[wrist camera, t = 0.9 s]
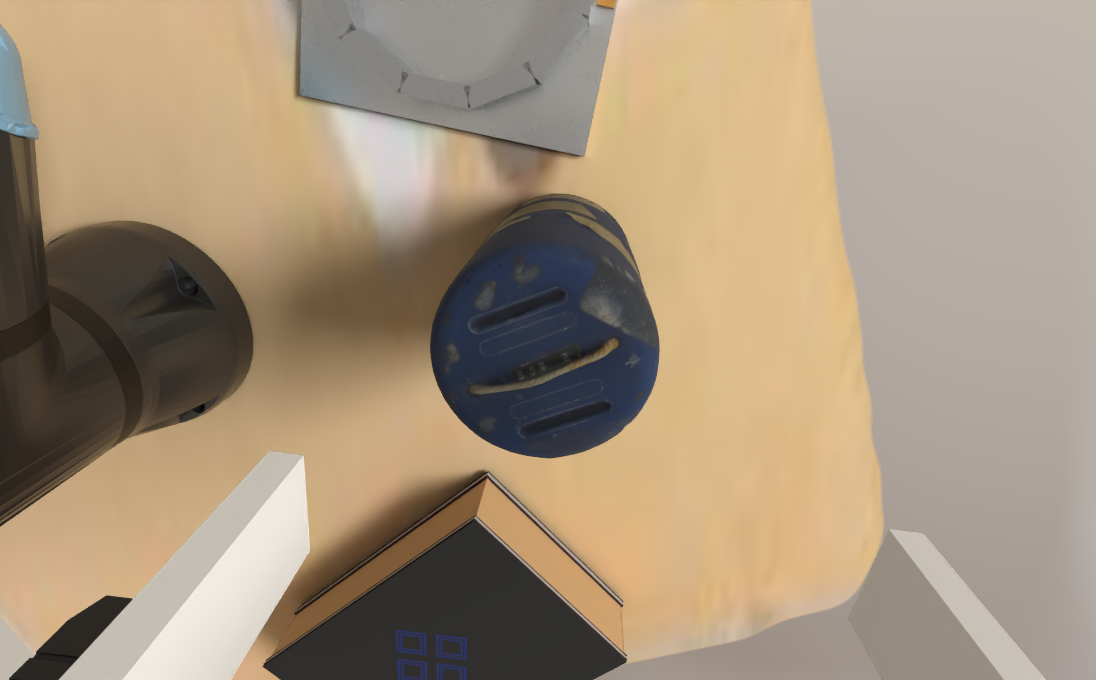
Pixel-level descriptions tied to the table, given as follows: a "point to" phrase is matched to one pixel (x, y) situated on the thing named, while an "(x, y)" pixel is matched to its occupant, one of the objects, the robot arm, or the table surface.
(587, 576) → the book
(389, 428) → the table surface
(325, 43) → the flange
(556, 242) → the canister
